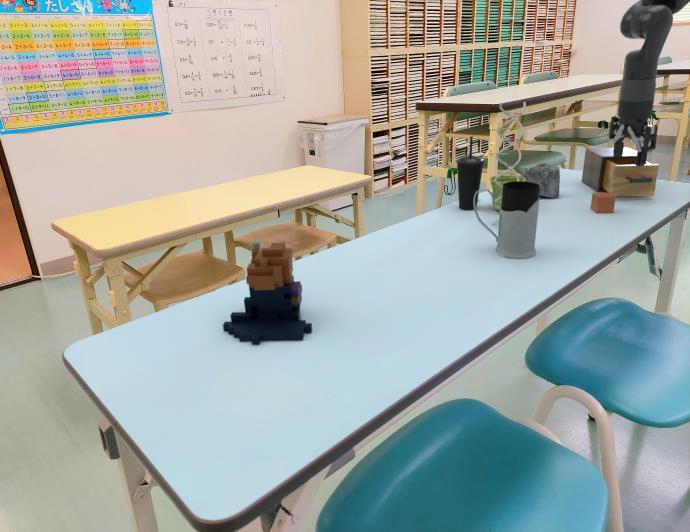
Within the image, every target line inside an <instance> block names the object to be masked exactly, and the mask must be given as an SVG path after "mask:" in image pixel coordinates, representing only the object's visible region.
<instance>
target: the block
mask: <svg viewBox="0 0 690 532" xmlns="http://www.w3.org/2000/svg"><path fill="white" fill-rule="evenodd" d="M616 199H617V197H615V196H614V195H612V194H611V193H610V192H592V195H591V200H590V201H591V202H590V210H591V211H593V212H594V213H595V214H613V213H614V210H615V204H616Z"/></svg>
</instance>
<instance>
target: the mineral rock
mask: <svg viewBox="0 0 690 532" xmlns="http://www.w3.org/2000/svg"><path fill="white" fill-rule="evenodd" d="M560 171H561V170H560V167H559V166H557V165H549V163H547V162H540V163H539V164H536V165H534V166H533V167H530V168H529V169H528V170H527V171H526V170H525V171H523V172H522V173H521V175H520V176H521V177H523V178H525V179H526V180H525V182H532V183H536V184H538V185H540V190H539V197H547V198H558V197H559V195H560V183H561V172H560Z"/></svg>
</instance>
